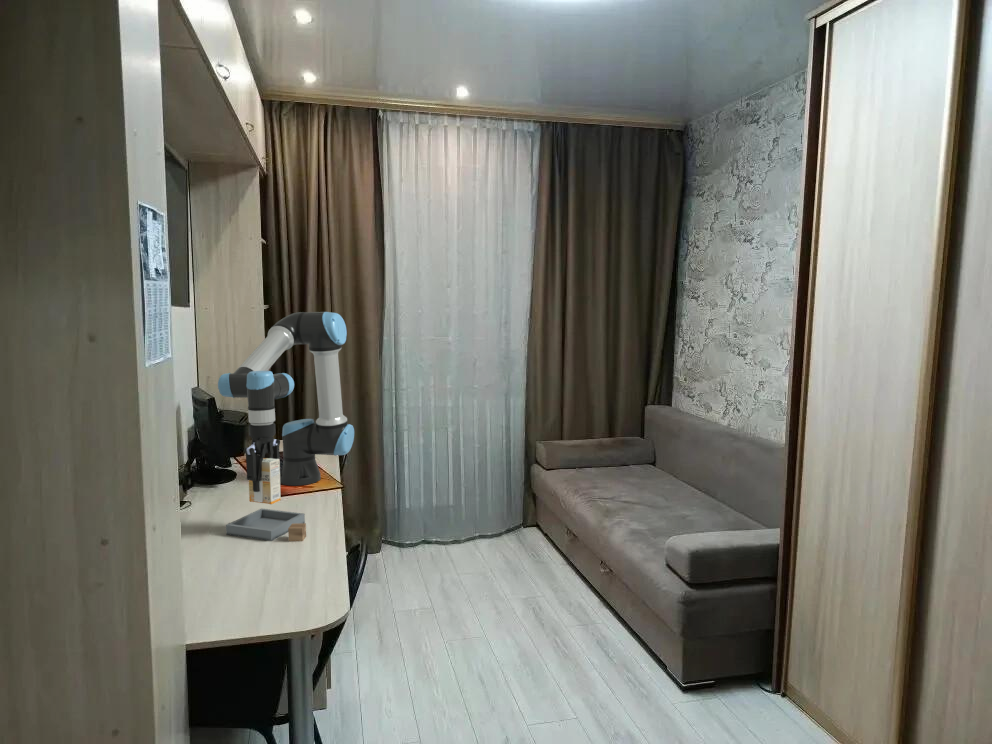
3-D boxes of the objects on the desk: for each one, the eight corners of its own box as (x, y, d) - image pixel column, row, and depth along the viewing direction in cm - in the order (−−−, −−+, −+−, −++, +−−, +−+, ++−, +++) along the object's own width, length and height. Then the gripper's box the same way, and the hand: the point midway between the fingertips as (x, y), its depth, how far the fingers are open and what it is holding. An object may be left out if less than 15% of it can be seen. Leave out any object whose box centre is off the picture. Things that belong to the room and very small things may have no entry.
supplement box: (248, 502, 197) (246, 459, 196) (259, 497, 202) (257, 456, 200) (271, 505, 195) (269, 461, 193) (281, 500, 199) (280, 458, 198)
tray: (261, 517, 209) (261, 508, 209) (304, 523, 204) (304, 513, 204) (226, 534, 194) (225, 524, 194) (271, 541, 189) (271, 531, 189)
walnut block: (292, 536, 193) (292, 523, 193) (306, 536, 193) (305, 523, 193) (288, 541, 189) (288, 528, 189) (302, 541, 189) (302, 528, 189)
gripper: (270, 417, 205) (273, 489, 208) (230, 427, 188) (234, 506, 191) (291, 418, 203) (293, 491, 205) (252, 429, 186) (255, 509, 189)
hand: (265, 498), depth 198 cm, fingers closed on supplement box, 5 cm apart
